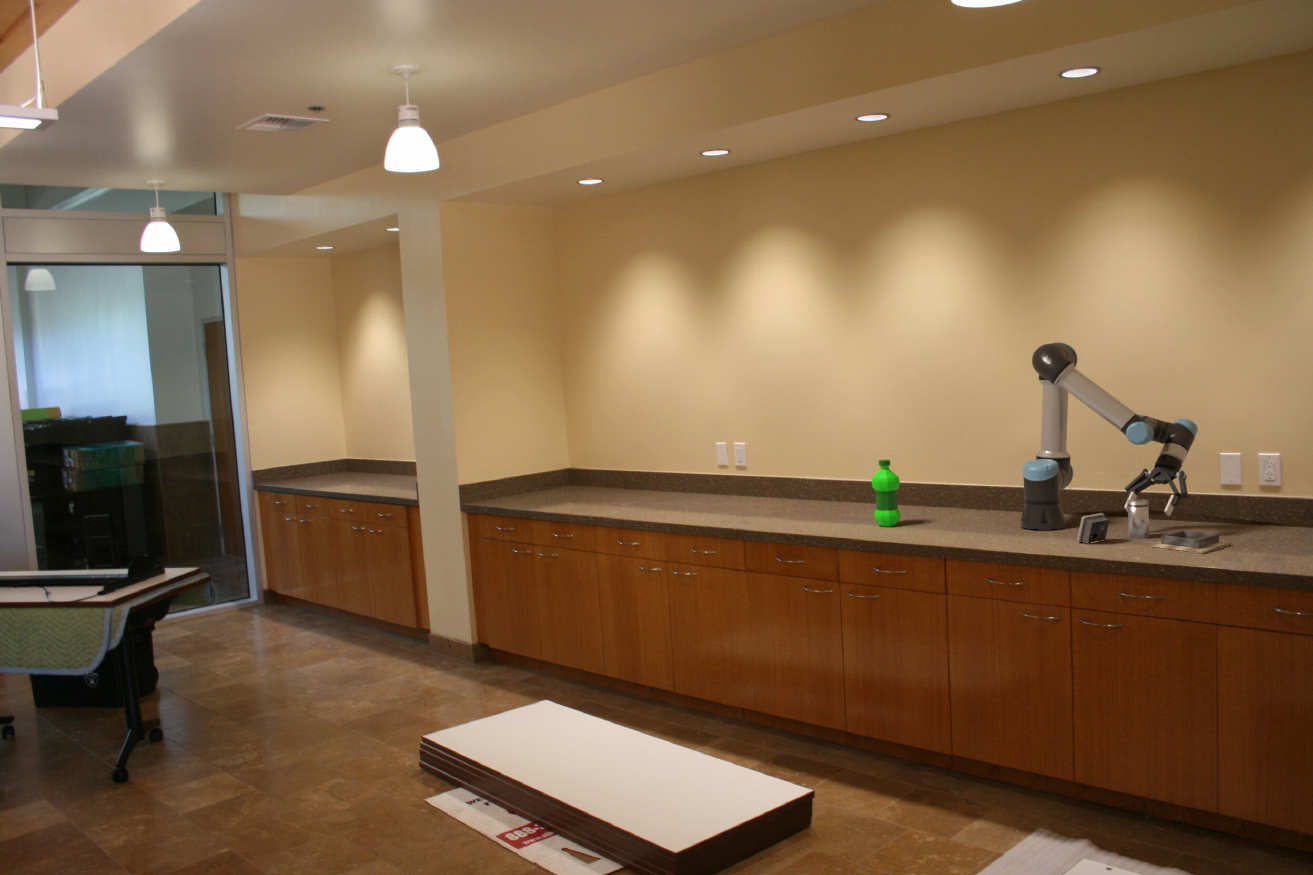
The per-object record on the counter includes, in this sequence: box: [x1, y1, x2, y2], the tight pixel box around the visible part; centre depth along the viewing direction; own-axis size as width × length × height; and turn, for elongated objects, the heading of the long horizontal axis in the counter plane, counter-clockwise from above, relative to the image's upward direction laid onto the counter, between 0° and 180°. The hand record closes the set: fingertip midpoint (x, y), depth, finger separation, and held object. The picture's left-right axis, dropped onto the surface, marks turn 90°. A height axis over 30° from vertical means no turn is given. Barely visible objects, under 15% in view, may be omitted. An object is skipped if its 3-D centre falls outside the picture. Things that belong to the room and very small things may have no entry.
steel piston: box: [1127, 498, 1150, 539], centre depth 312 cm, size 6×6×12 cm
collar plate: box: [1149, 529, 1232, 552], centre depth 294 cm, size 16×16×4 cm
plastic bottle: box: [871, 459, 902, 528], centre depth 363 cm, size 10×10×25 cm
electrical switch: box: [1076, 512, 1110, 545], centre depth 309 cm, size 9×5×9 cm, turn 113°
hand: (1146, 511), depth 312 cm, fingers open, 13 cm apart
